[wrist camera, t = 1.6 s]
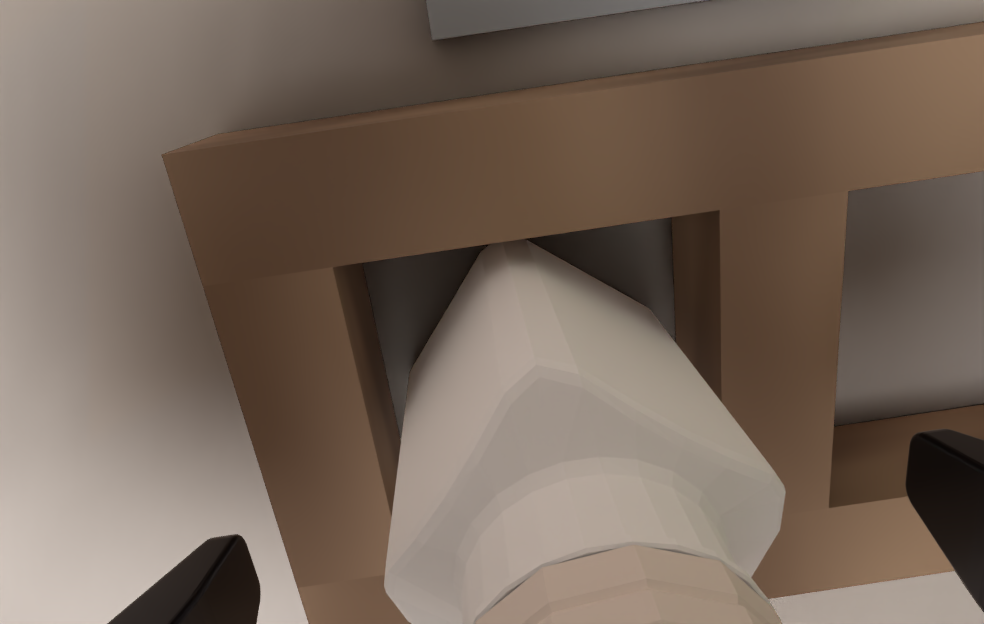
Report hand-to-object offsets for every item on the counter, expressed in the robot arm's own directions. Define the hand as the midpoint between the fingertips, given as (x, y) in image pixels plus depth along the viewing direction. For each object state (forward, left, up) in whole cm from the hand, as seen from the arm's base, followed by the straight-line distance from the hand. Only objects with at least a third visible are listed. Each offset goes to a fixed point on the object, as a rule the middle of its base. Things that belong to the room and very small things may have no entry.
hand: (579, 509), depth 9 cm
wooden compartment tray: (-4, 0, -5) cm, 6 cm away
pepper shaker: (0, 0, -5) cm, 5 cm away
